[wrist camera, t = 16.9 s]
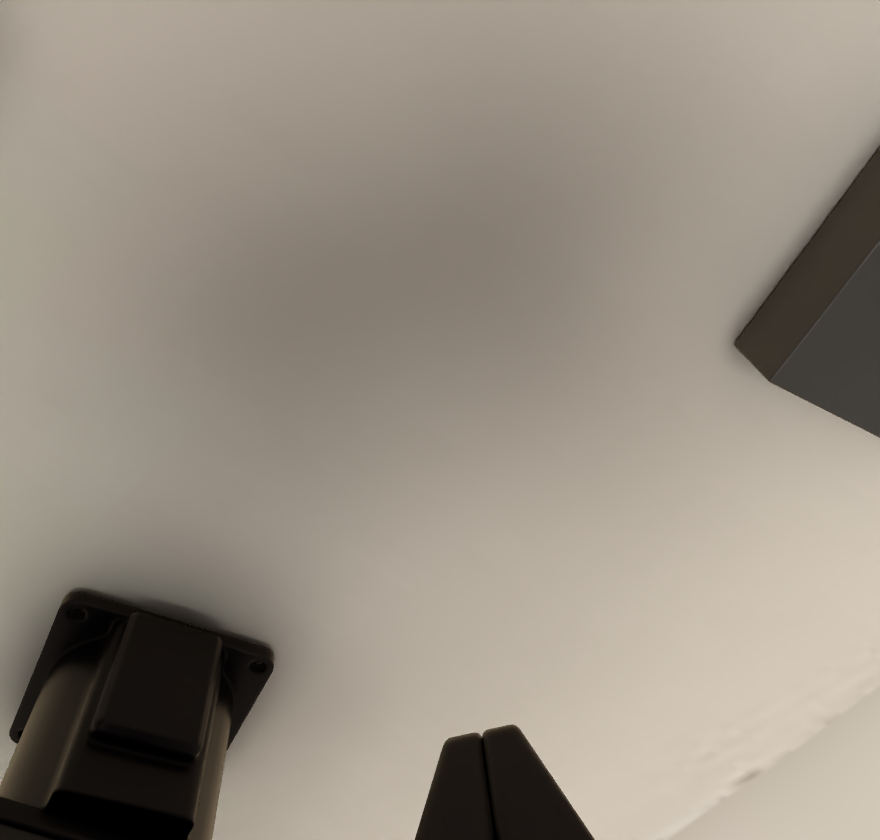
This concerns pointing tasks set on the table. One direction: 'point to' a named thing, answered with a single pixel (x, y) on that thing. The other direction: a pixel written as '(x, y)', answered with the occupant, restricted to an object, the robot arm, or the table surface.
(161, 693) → the robot arm
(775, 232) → the table surface
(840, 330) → the control block
